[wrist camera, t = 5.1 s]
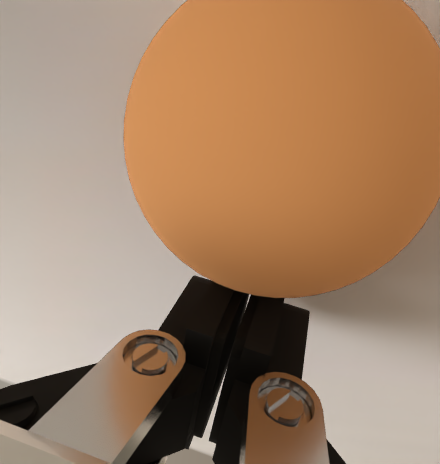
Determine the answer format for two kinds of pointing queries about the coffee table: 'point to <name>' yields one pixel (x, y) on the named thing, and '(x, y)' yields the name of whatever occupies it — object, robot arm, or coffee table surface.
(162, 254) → the coffee table surface
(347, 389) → the coffee table surface
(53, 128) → the coffee table surface
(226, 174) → the ball
